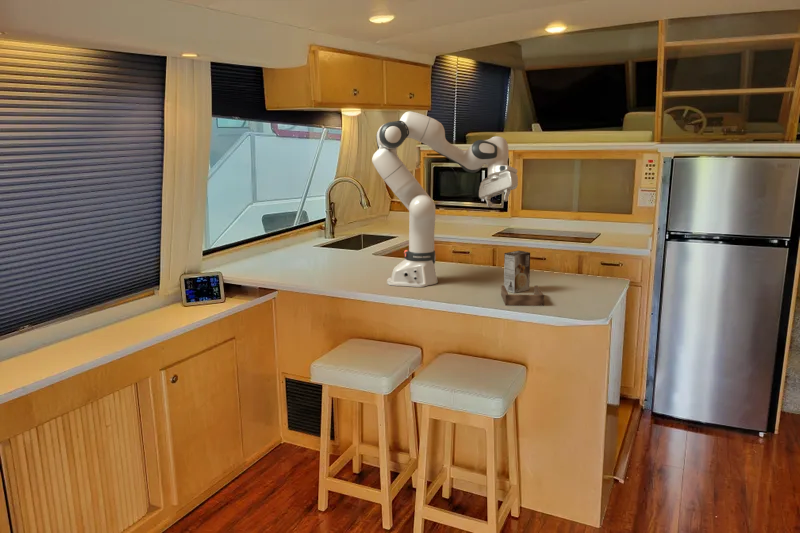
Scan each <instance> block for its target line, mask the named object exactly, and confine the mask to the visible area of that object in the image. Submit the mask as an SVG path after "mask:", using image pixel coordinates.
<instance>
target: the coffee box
mask: <svg viewBox="0 0 800 533" xmlns="http://www.w3.org/2000/svg"><path fill="white" fill-rule="evenodd" d="M503 259H504V261H503V265H504V266H503V268H504V269H503V278H504V279H503V285H504V286H505V288H506V290H507V292H510V293H513V294H518V293H521V292H525V291H529V290H530V283H531V282H530V278H531V277H530V275H531V252H529V251H525V250H524V251H523V250H516V251H514V250H513V251H509V252H505V253H504V258H503Z"/></svg>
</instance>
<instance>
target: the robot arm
mask: <svg viewBox="0 0 800 533" xmlns="http://www.w3.org/2000/svg"><path fill="white" fill-rule="evenodd" d="M375 135H376V136H375V139H376V145H377V150H376V151H374V153H373V155H372V158H371V163H372V165H373V167H374V168H375V170H376V171H377V174H379V176H380V177H381V178H382V180H383V181H384V182H385V184H386V185H387V186H388V187H389V188H390V190H391V191H392V192H393V194H394V195H395V196H396V197H397V198H398V199H399V201H400V202H401V203H402V204H403V205H404V207H405V208H406V209H407V210H408V212H409V216H408V217H409V221H408V224H409V225H408V226H409V227H408V228H409V229H408V249H405V250H403V251H404V252H403V254H404V255H403V256H404V259H403V260H402V261H400V262H399V263H398V264H397V265H395V266H394V268H393V269H392V273H391V276H390V277H388V278H387V279H386V284H387V285H388V286H397V287H415V288H416V287H417V288H423V287H424V288H425V287H428V286H432V285H436V284H437V283H438V277H437V272H436V264H435V263H436V251H435V230H436V228H435V226H436V204H435V201H434V200H433V199H432V197H431V196H430V195H429V194H428V193H427V191H426V190H425V189H424V188H423V186H422V185H421V184H420V182H419V181H418V180H417V179H416V177H415V176H414V175H413V174H412V172H411V171H410V170H409V168H408V167H407V166H406V165H405V163H404V162H403V161H402V160H401V159H400V157H399V156H398V154H397V148H399V147H401V145H402V144H403V143H404V142H405V140H407V139H412V140H414V141H417V142H420V143H422V144H424V145H426V146H428V147H429V148H430V149H431V150H432V151H434V152H436V153H437V154H439V155H441V156H443V157H444V158H446V159H448V160H450V161H452V162H454V163H456V164H457V165H458V166H460V167H461V168H462V169H463V170H464V171H465V172H468V173H473V174H474V173H477V172H479V171H480V170H481V169H482V167H483V166H484V165H487V177H486V178H483V179H482V181H481V182H480V184H479V190H478V197H479V199H482V200H484V201H485V202H486V207H488V208H490V207H493V202H491V198H493V197H495V196H496V197H497V196H498V195H499V196H500V195H502V194H504V195H503V196H502V201H503V202H508V201H509V196H510V194H511V191H512V190H515V189H517V187H518V185H519V178H518V177H519V176H518V169H517V168H515V167H513V166H511V165H509V163H508V161H509V157H510V156H509V155H510V154H509V152H510V151H509V144H508V141H507V139H505V138H504V137H503V136H492V137H490V138H489V139H477V140H475V141H474V142H473V143H472V144H471V145H470V146H469V148H468V149H462V148H459V147H458V146H455V145H454V144H453V143H450V142H449V141H448V140H447V139H446V131H445V128H444V125H443V124H442V123H441V122H440V121H438V120H437V119H435V118H433V117H430V116H427V115H426V114H424V113H419V112H415V111H412V110H410V111H406V112H404V113H403V114H402V115H401V116H400V119H399V120H395V121H389V122H386V123H383V124H382V125H381V126H380V127H379V128H378V130H377V132H376V134H375Z"/></svg>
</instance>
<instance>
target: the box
mask: <svg viewBox="0 0 800 533" xmlns="http://www.w3.org/2000/svg"><path fill="white" fill-rule="evenodd" d="M533 287H534V288H533V289H534V290H533V294H518V293H513V294H510V293H508V292H509V291H507V290H506V288H505V286H504V284H503V285H501V288H500V295H501V298H502V300H503V304H504V306H526V307H527V306H533V307H534V306H535V307H536V306H540V307H544V305H545V304H544V303H545V295H544V293H543V291H542V290H541V289H540V287H539V286H538V285H534V286H533Z"/></svg>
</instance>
